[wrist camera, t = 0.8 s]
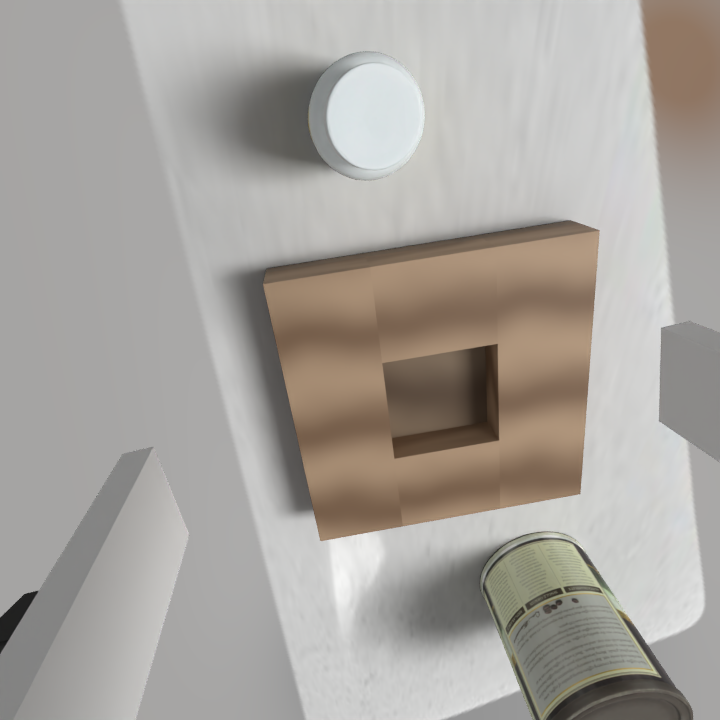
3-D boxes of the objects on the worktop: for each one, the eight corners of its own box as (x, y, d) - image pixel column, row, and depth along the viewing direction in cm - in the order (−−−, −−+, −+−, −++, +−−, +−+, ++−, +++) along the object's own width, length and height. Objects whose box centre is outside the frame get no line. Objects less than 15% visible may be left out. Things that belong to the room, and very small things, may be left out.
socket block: (266, 268, 32) (262, 284, 29) (570, 220, 33) (599, 230, 30) (318, 508, 41) (320, 541, 38) (559, 466, 42) (580, 493, 38)
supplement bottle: (406, 74, 28) (453, 53, 20) (392, 175, 31) (428, 195, 22) (311, 59, 28) (316, 30, 19) (303, 163, 30) (304, 179, 21)
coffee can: (609, 552, 47) (725, 712, 34) (539, 623, 50) (621, 794, 37) (525, 514, 44) (619, 675, 31) (457, 592, 47) (515, 767, 34)
